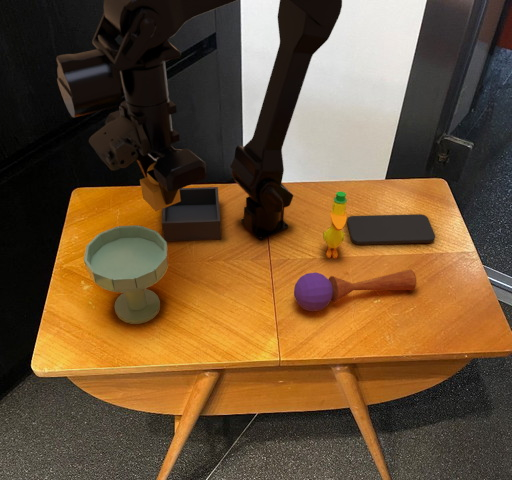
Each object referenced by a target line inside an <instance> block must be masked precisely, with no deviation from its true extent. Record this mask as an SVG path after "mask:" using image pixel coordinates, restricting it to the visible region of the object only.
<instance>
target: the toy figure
mask: <svg viewBox="0 0 512 480" xmlns="http://www.w3.org/2000/svg"><path fill="white" fill-rule="evenodd" d="M346 197H347V193H346V192H344V191H337V192H336V193H335V196H334V197H333V201H332V207H331V210H330V211H329V213H330V214H329V215H330V227H328V228H327V229H326V231H324V230H323V234H322V237H323V238H322V239H323V242H325V243H326V244H327V246H328V248H327V250H326V253H325V256H326V258H327V259H331V257H332V258H333V259H337V257H338V255H339V254H338V251H337V248H338V247H339V246H341V245H342V243H343V242H344V241H345V237H346V236H345V235H346V233H345V232H344V231H343V229H345V226H346V225H347V219H348V216H347V215H348V214H347V211H346V208H347V204H348V203H347V202H348V199H347V198H346ZM331 249H332V250H331Z"/></svg>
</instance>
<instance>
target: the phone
mask: <svg viewBox="0 0 512 480" xmlns="http://www.w3.org/2000/svg"><path fill="white" fill-rule="evenodd" d="M346 225H347V229H348V233H349V237H350V240H351V242H352V243H353V244H355V245H390V244H391V245H396V244H429V243H430V244H431V243H434V241H435V239H436V234H435V232H434V228H433V226H432V224H431V221H430V220H429V217H428V216H426V215H425V214H422V213H421V214H420V213H419V214H418V213H417V214H415V213H414V214H382V215H381V214H379V215H378V214H377V215H351V216H347V219H346Z"/></svg>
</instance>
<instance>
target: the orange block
mask: <svg viewBox="0 0 512 480" xmlns="http://www.w3.org/2000/svg"><path fill="white" fill-rule="evenodd" d="M154 165H155V163H153V164H152V165H150V166H149V168H148V170H147V171H150V170H152V169H154V168H153V167H154ZM139 183H140V188H141V194H142V195H141V196H142V199H143V200H144V201H145V203H147V204H148V205H149V206H150V207H151V208H152V209H153V211H155V212H159V211H162V209H163V208H166V207H168V206H171V205H173V204H175V203H178V202H180V201H181V199H180V191H179V189H178V191H177V194H176V196H175V198H174V200H173V202H172V203H171V204H169V205H166V204H165V202H164V199H163V197H162V193H161V190H160V187H159V184H158V182H156V181H155V180H154V179H153V178H152V177H151V176H150V175H149V174H148V173H147V177H146V178H145V177H144V178H141V179H139Z"/></svg>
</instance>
